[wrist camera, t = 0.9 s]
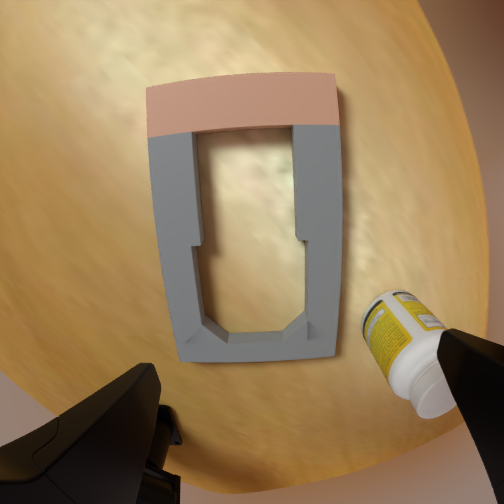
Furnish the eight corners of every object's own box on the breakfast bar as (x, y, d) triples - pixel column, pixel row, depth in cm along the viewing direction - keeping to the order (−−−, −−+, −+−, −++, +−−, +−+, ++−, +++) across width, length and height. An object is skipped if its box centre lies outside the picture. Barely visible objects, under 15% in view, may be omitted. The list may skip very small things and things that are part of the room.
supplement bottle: (366, 354, 23) (406, 439, 13) (352, 304, 21) (402, 388, 12) (420, 329, 22) (477, 400, 13) (412, 277, 21) (484, 341, 11)
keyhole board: (330, 345, 22) (334, 356, 21) (184, 351, 23) (180, 361, 21) (329, 79, 17) (334, 73, 15) (153, 92, 17) (146, 87, 16)
